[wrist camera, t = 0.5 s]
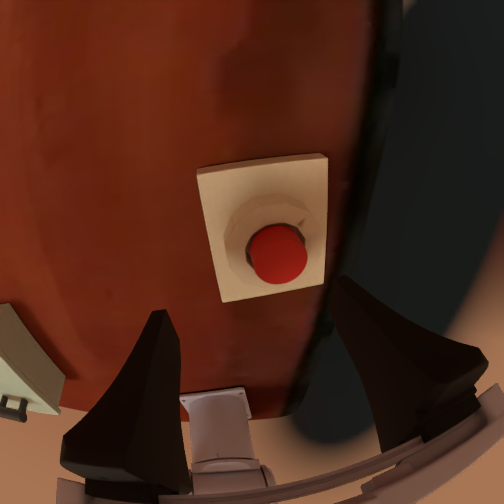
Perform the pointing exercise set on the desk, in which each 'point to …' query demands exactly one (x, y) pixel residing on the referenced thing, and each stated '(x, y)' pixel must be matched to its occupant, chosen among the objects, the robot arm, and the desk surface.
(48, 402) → the freezer lid
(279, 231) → the power button
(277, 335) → the desk surface
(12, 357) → the box
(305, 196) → the control block
